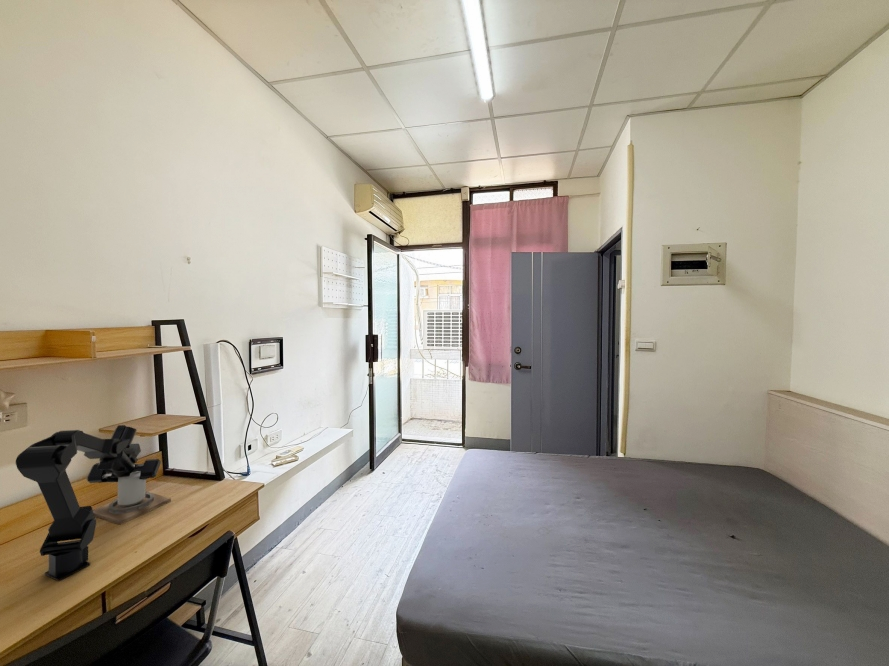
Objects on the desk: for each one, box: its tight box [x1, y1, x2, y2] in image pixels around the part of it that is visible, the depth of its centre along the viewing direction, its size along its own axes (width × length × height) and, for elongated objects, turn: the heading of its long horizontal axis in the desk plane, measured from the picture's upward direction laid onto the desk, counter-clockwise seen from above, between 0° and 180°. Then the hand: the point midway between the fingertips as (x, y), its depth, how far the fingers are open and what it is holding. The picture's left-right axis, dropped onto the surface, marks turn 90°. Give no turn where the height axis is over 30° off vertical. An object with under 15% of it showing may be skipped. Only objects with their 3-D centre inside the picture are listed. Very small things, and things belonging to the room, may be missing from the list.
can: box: [117, 471, 147, 506], centre depth 123 cm, size 8×8×12 cm
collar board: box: [93, 490, 172, 526], centre depth 124 cm, size 16×16×3 cm
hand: (134, 479), depth 124 cm, fingers closed on can, 7 cm apart
